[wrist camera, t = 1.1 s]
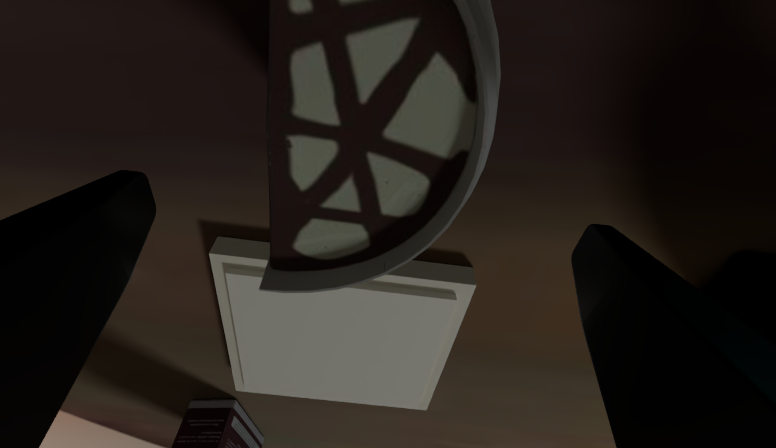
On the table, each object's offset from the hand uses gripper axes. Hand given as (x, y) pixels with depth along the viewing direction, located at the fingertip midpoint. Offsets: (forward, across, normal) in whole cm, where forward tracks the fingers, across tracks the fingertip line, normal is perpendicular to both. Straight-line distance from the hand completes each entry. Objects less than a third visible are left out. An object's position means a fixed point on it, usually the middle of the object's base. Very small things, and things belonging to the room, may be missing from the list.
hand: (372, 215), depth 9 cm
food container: (+12, 0, 0) cm, 12 cm away
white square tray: (+12, +1, +21) cm, 24 cm away
